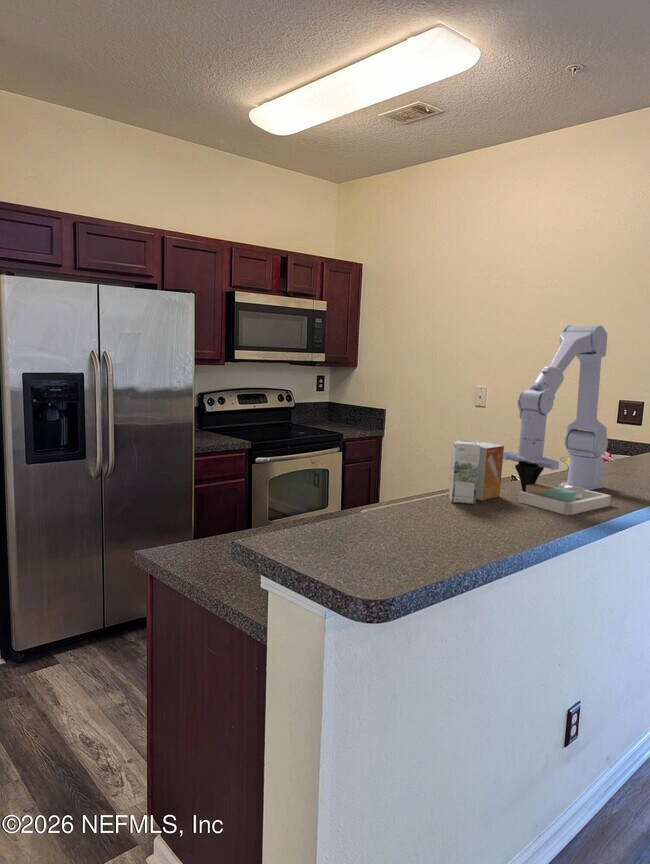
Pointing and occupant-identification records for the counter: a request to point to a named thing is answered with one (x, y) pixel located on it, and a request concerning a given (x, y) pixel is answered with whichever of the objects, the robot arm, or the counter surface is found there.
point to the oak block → (537, 489)
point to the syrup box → (464, 471)
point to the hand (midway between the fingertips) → (527, 493)
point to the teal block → (560, 494)
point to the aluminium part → (576, 490)
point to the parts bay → (588, 503)
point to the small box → (489, 471)
